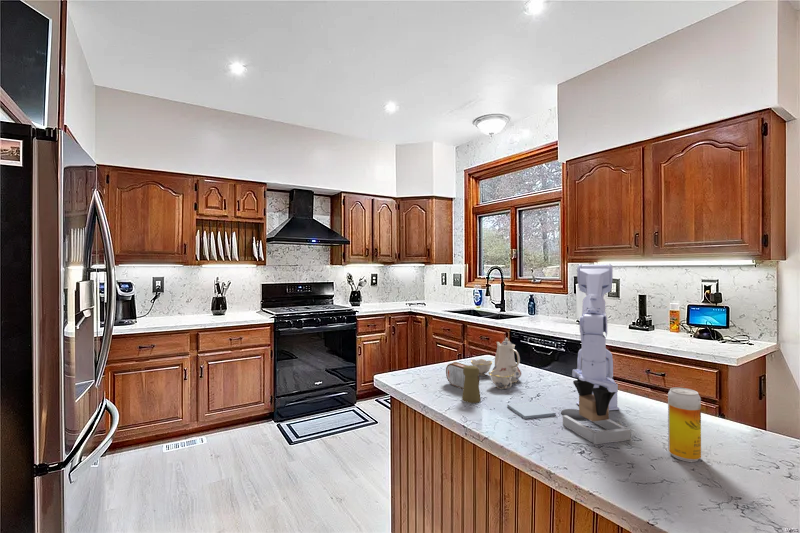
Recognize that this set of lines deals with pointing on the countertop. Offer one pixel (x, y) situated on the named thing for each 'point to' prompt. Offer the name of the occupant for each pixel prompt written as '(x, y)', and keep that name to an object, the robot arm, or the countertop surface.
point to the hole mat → (573, 414)
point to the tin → (456, 374)
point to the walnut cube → (590, 408)
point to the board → (531, 410)
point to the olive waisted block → (471, 385)
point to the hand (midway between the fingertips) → (593, 411)
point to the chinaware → (501, 365)
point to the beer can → (684, 424)
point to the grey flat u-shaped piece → (610, 435)
